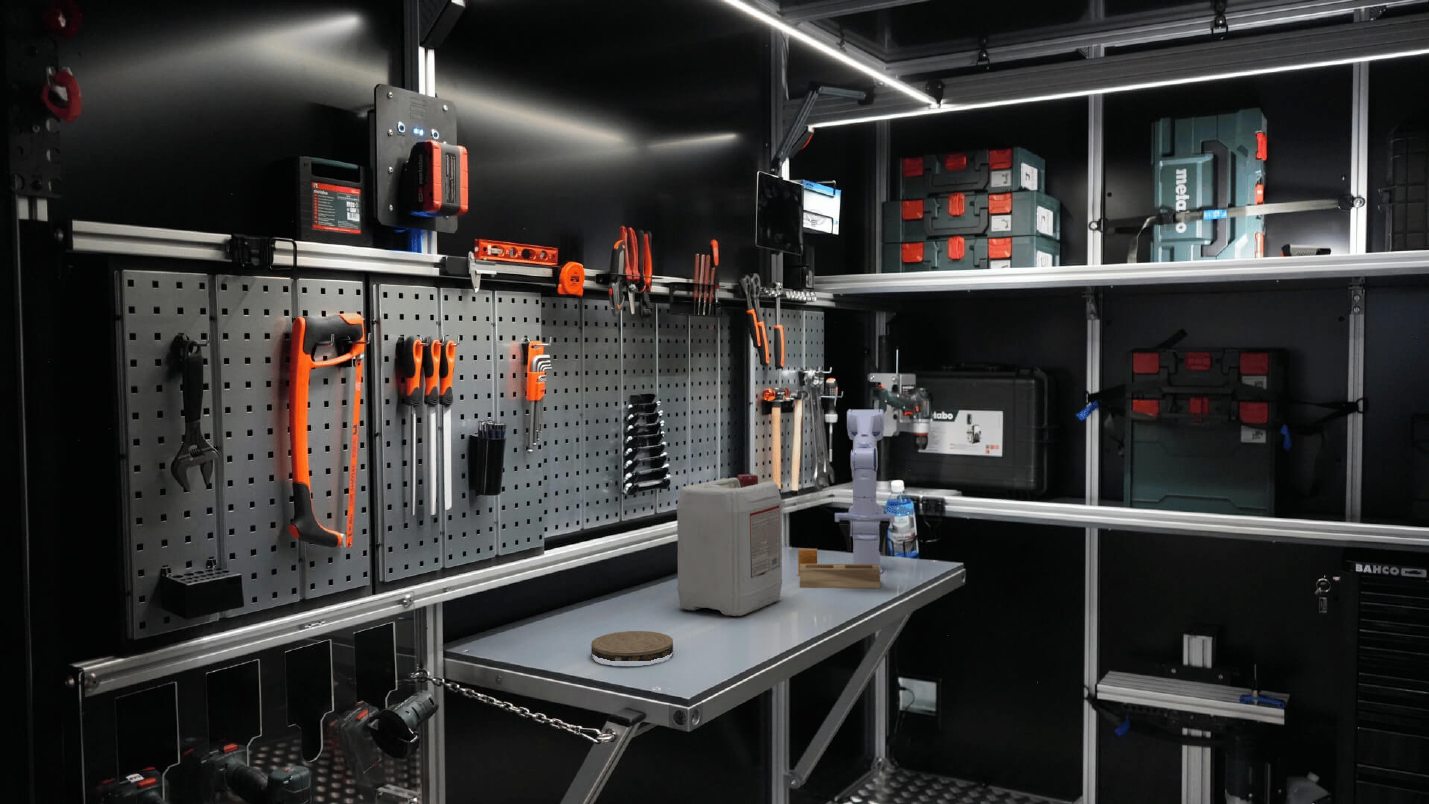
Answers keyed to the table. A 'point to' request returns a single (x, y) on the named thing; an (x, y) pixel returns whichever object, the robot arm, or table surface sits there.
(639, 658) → the brown round disc
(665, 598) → the table surface
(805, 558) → the orange wooden block
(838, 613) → the table surface
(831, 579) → the slotted wooden block
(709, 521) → the jerry can
